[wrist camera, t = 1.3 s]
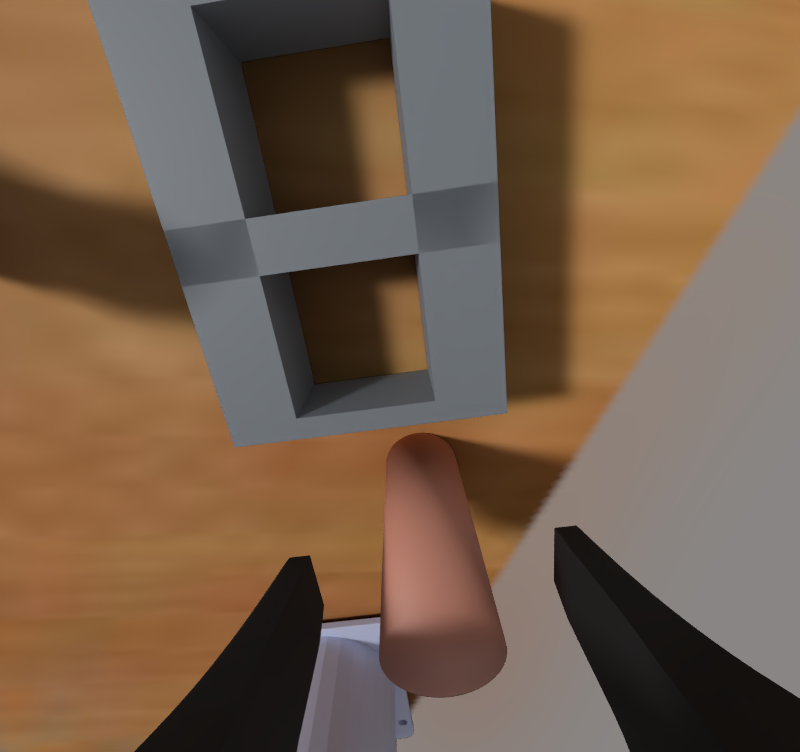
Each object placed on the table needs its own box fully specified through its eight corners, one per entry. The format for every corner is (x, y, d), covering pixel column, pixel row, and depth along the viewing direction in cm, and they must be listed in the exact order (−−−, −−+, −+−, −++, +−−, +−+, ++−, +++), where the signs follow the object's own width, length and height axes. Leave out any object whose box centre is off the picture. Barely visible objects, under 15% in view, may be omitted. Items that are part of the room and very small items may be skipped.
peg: (458, 488, 17) (509, 691, 9) (391, 496, 17) (388, 703, 10) (452, 428, 16) (504, 602, 8) (381, 437, 16) (369, 618, 8)
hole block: (486, 379, 15) (507, 413, 12) (264, 408, 15) (234, 447, 13) (463, -7, 11) (486, -92, 8) (159, 43, 11) (80, -21, 8)
